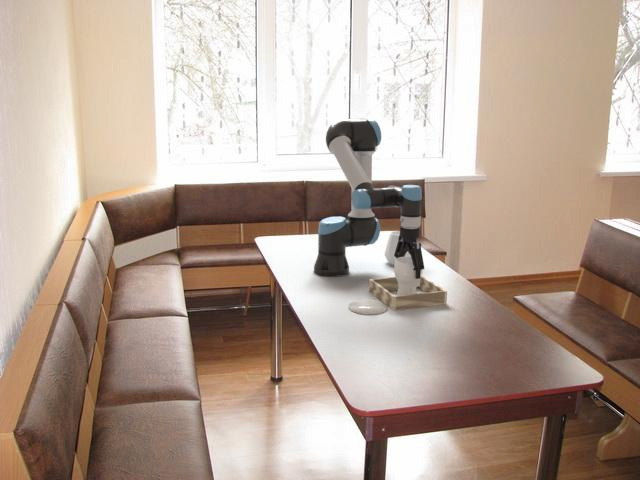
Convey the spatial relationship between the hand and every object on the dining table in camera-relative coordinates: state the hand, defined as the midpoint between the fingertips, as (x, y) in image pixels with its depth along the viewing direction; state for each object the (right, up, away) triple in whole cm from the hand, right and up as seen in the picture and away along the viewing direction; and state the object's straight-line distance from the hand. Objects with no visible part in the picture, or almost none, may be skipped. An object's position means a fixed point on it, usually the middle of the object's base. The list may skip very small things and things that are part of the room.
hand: (407, 281), depth 253 cm
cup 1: (+2, +5, +48) cm, 48 cm away
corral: (0, -6, +2) cm, 7 cm away
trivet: (-16, -9, -10) cm, 21 cm away
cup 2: (0, -7, +2) cm, 7 cm away
